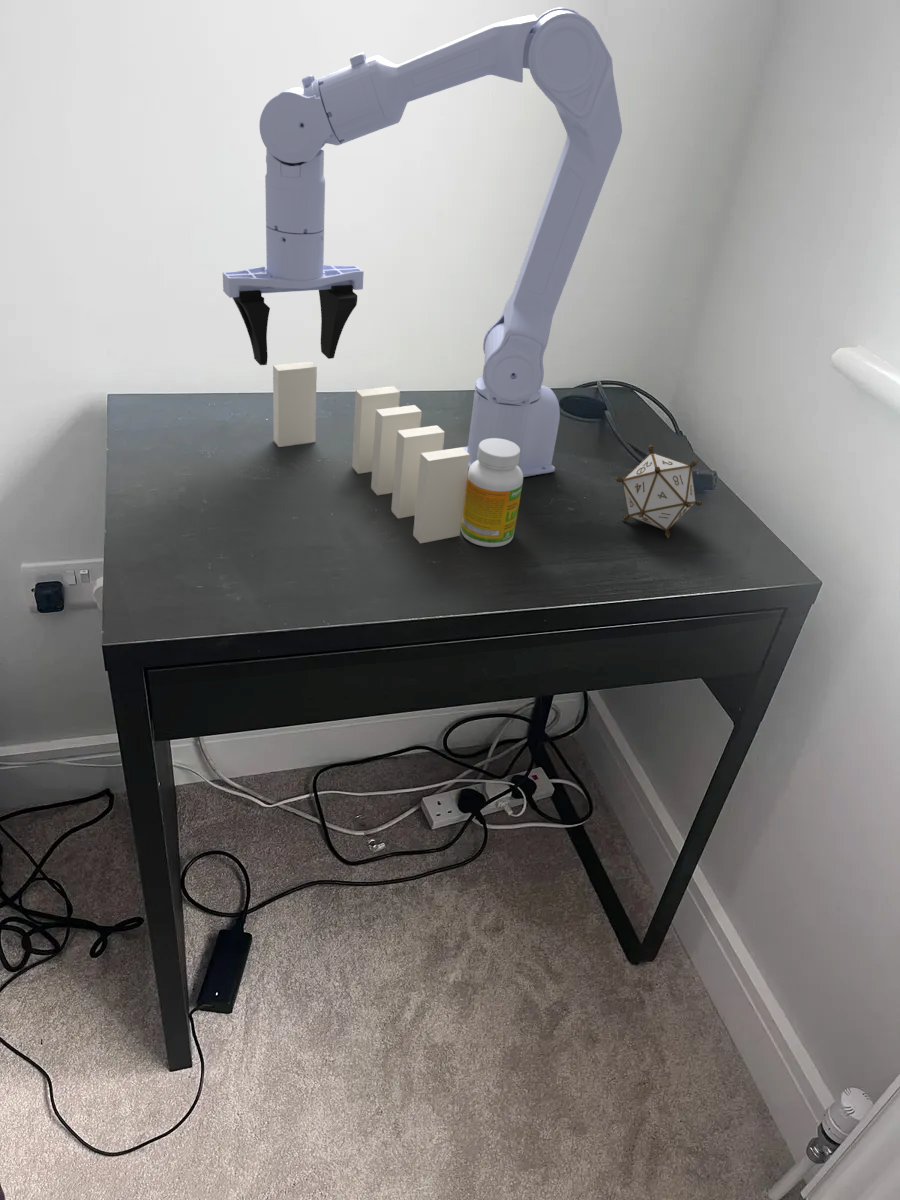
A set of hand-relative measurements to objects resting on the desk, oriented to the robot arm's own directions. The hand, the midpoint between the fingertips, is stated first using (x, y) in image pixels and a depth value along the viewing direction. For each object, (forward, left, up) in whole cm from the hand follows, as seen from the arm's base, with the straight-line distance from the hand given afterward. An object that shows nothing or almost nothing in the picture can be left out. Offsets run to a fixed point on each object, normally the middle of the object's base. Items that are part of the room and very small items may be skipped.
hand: (294, 358), depth 99 cm
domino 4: (-6, +18, -10) cm, 22 cm away
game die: (-29, +29, -10) cm, 42 cm away
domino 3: (-6, +13, -10) cm, 18 cm away
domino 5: (-6, +23, -10) cm, 26 cm away
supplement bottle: (-11, +25, -10) cm, 29 cm away
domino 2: (-6, +8, -10) cm, 14 cm away
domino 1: (0, 0, -10) cm, 10 cm away
